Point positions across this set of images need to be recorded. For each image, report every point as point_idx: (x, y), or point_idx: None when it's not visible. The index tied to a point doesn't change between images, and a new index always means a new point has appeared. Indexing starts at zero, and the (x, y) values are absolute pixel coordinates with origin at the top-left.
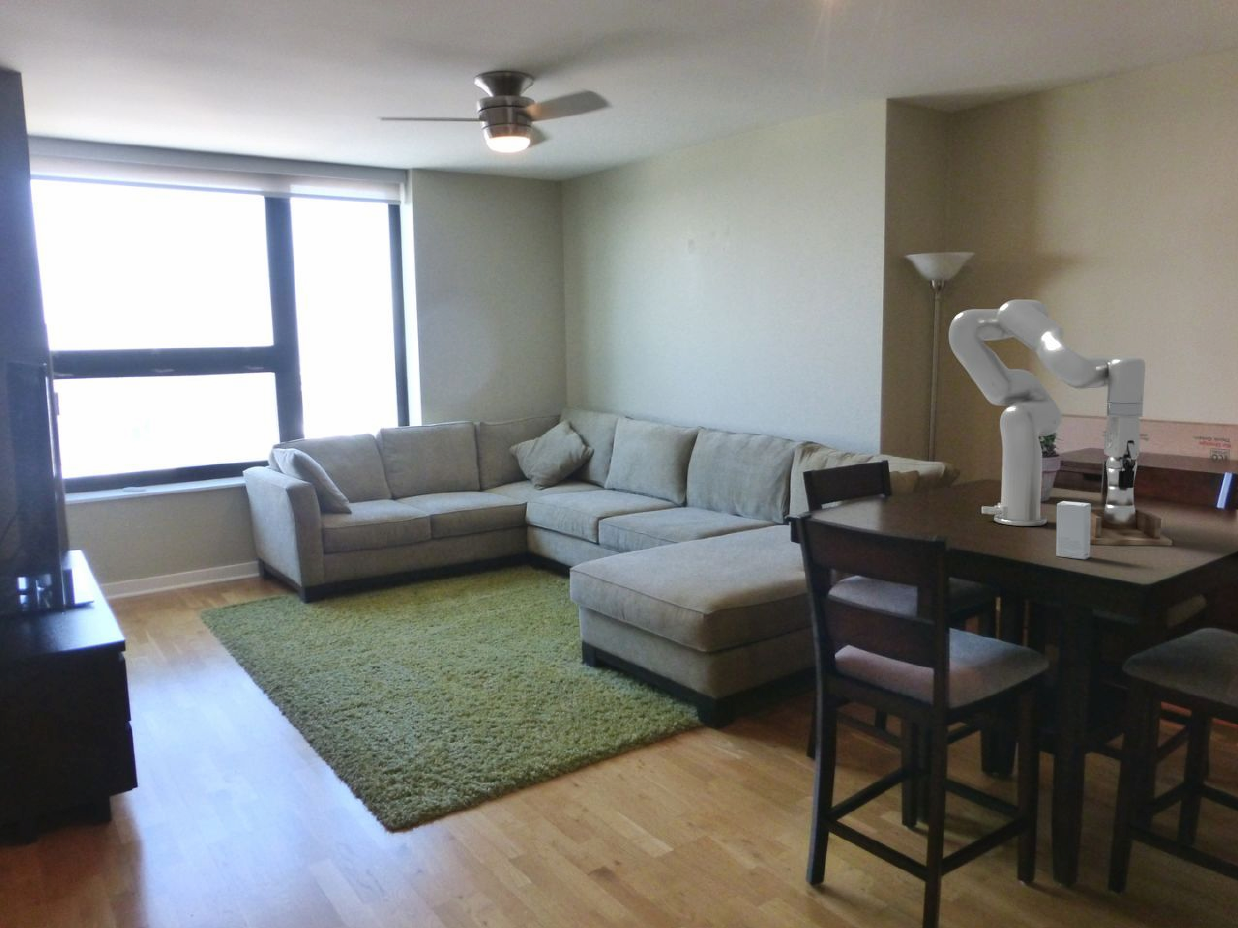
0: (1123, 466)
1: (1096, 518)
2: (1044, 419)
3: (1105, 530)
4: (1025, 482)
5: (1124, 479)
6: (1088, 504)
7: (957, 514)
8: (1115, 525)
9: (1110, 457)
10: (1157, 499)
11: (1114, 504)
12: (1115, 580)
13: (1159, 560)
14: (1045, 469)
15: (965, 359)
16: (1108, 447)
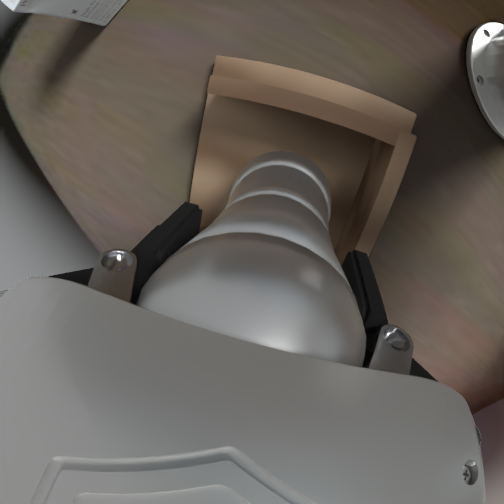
0: (94, 275)
1: (211, 76)
2: None
3: (329, 171)
4: None
5: (146, 236)
6: (7, 6)
7: None
8: (349, 219)
9: (235, 328)
10: (485, 404)
11: (246, 176)
12: (9, 46)
13: (75, 147)
14: None
15: None
16: (307, 473)
